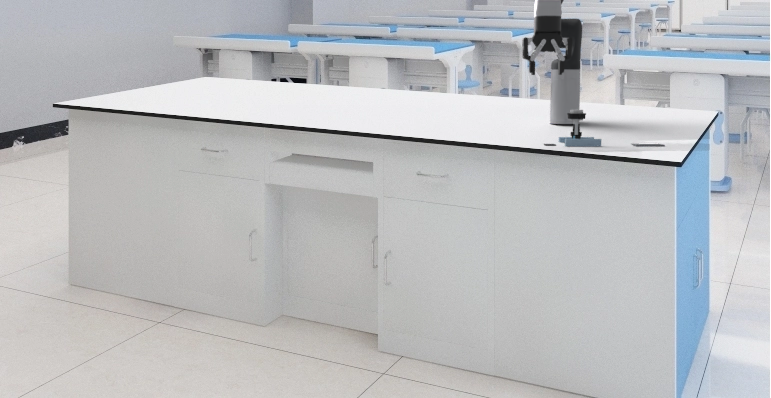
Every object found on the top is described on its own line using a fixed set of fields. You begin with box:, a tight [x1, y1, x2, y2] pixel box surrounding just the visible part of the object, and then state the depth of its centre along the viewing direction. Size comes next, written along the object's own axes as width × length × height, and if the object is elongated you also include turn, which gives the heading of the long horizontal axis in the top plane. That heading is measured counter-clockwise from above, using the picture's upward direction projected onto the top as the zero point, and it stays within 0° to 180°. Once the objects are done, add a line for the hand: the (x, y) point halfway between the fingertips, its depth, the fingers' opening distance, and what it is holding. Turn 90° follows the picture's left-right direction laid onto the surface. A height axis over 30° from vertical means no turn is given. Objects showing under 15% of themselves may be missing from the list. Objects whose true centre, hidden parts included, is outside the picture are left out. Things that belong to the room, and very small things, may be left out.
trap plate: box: [543, 143, 557, 146], centre depth 266 cm, size 5×3×1 cm, turn 1°
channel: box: [557, 136, 602, 147], centre depth 265 cm, size 10×10×2 cm
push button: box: [567, 109, 587, 139], centre depth 264 cm, size 7×5×10 cm
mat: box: [631, 143, 665, 147], centre depth 263 cm, size 8×8×1 cm
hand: (546, 74), depth 262 cm, fingers open, 7 cm apart
